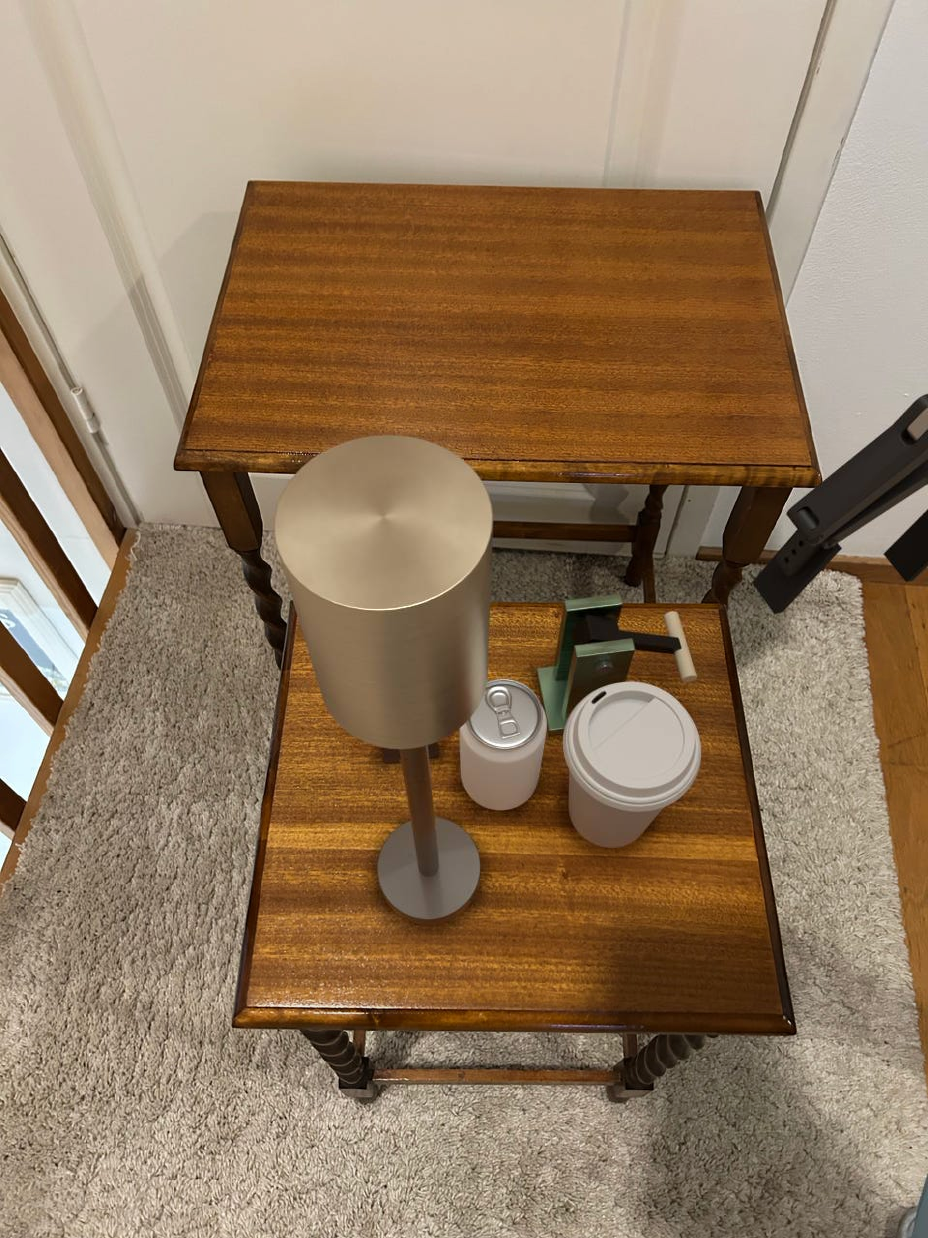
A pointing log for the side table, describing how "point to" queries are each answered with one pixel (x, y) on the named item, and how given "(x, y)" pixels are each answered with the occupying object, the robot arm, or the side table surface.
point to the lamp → (397, 629)
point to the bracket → (582, 662)
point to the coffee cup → (627, 760)
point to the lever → (640, 639)
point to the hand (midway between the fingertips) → (835, 581)
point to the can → (503, 746)
